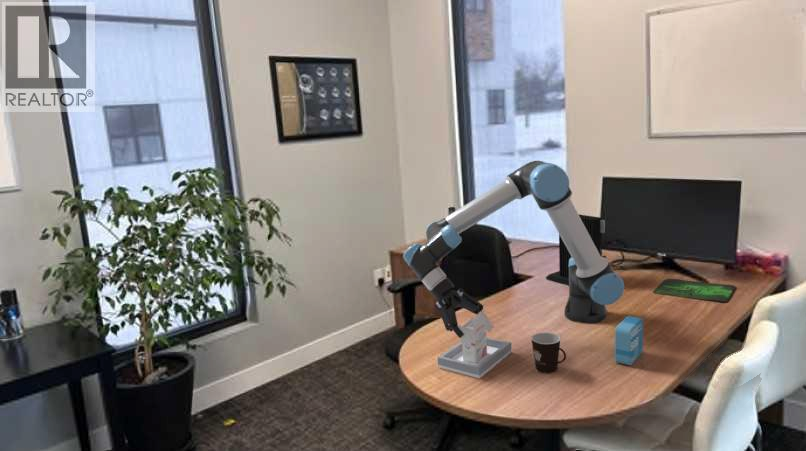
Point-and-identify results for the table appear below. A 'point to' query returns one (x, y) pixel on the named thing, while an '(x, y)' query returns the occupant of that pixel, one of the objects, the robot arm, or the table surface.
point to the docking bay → (494, 355)
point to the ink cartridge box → (475, 339)
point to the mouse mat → (695, 290)
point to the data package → (628, 340)
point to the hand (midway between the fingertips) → (481, 336)
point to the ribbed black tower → (593, 228)
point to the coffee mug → (546, 352)
